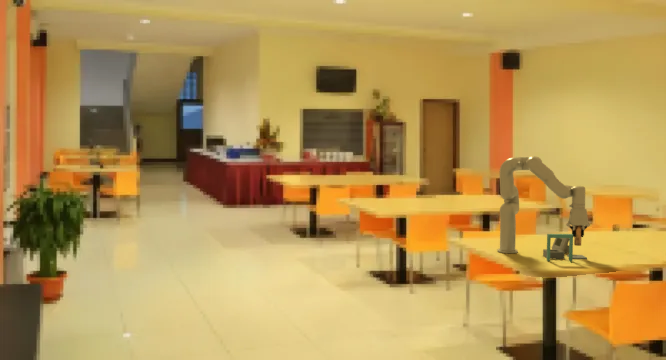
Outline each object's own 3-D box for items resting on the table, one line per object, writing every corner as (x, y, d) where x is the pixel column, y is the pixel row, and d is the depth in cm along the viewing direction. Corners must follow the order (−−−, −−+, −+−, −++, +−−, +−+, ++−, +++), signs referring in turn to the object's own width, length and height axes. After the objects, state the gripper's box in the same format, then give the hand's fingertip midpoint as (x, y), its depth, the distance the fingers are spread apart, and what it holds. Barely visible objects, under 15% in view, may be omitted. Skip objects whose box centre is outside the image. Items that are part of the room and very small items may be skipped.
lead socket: (543, 255, 425) (543, 249, 425) (559, 255, 425) (559, 249, 424) (547, 258, 415) (547, 252, 415) (564, 258, 415) (564, 252, 414)
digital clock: (551, 249, 447) (551, 233, 446) (565, 250, 446) (566, 233, 445) (556, 254, 431) (556, 237, 430) (571, 254, 430) (571, 237, 429)
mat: (567, 256, 424) (567, 254, 424) (581, 256, 424) (581, 254, 424) (571, 259, 414) (572, 257, 414) (587, 259, 414) (587, 257, 414)
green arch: (546, 260, 409) (547, 233, 408) (570, 260, 409) (571, 233, 407) (547, 261, 406) (548, 234, 405) (572, 261, 406) (573, 234, 404)
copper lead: (573, 244, 421) (573, 225, 420) (580, 244, 420) (580, 225, 420) (575, 245, 417) (575, 225, 416) (582, 245, 416) (582, 225, 416)
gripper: (566, 207, 414) (565, 237, 415) (594, 207, 413) (594, 237, 414) (562, 206, 421) (562, 235, 422) (590, 206, 420) (589, 235, 422)
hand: (577, 236), depth 418 cm, fingers closed on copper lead, 4 cm apart
